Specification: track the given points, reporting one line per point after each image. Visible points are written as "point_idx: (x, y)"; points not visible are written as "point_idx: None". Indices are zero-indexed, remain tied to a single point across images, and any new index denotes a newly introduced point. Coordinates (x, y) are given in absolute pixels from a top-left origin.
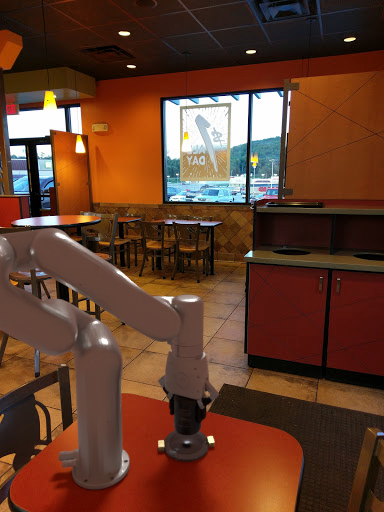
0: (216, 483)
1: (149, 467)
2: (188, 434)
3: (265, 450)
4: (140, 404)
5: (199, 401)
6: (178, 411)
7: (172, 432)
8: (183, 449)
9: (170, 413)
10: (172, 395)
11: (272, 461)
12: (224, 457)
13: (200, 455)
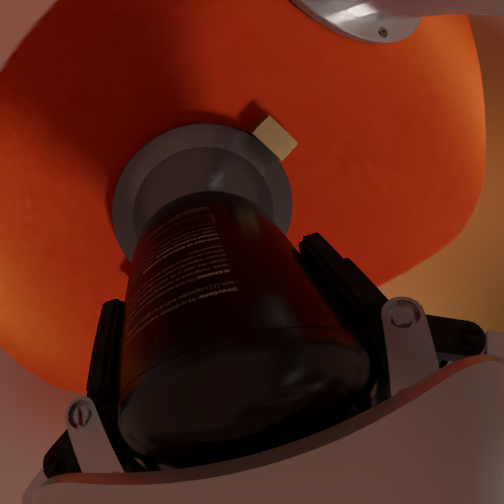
0: (13, 172)
1: (228, 35)
2: (149, 220)
3: (55, 348)
4: (428, 243)
5: (91, 451)
6: (226, 267)
7: (285, 218)
8: (177, 179)
9: (316, 236)
10: (387, 352)
11: (22, 332)
12: (76, 267)
13: (112, 210)
